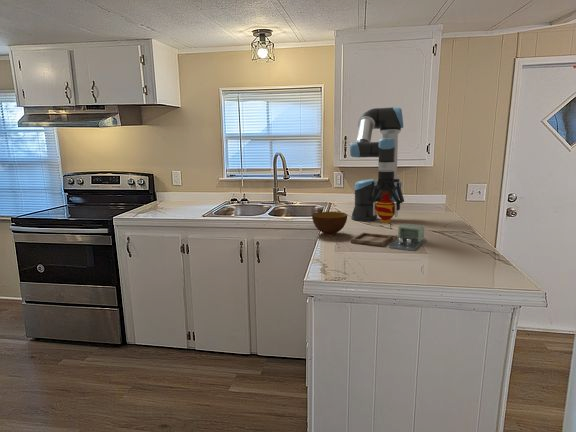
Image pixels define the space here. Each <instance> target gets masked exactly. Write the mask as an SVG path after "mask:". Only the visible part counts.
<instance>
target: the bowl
mask: <svg viewBox="0 0 576 432" xmlns="http://www.w3.org/2000/svg"><path fill="white" fill-rule="evenodd" d="M311 218H312V222H313V224H314V226H315V228H316V229H317V230H318V231H319V232H321V233H323V235H324V234H325V235H324V236H327V235H332V236H336V235H337V233H338V232H339V233H340V232H341V231H342V229H343V228H344V227H345V226H346V223H347V220H348V214H347V213H345V212H340V211H339V212H338V211H323V212H322V211H320V212H314V213H313V214H311ZM335 234H336V235H335Z"/></svg>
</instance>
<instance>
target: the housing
mask: <svg viewBox="0 0 576 432" xmlns="http://www.w3.org/2000/svg"><path fill="white" fill-rule="evenodd" d="M397 230H398V232H397V239H398V240H399V238H403V237H409V238H418V242H420V241H422V240H423V239H424V238H425V225H423V224H414V223H413V224H412V223H402V224H400V225H399V226H398V229H397Z"/></svg>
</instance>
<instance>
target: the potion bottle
mask: <svg viewBox="0 0 576 432" xmlns="http://www.w3.org/2000/svg"><path fill="white" fill-rule="evenodd" d="M381 195H382V196H383V199H381V200H380V201H378V202H377V203H376V204H375V205H376V207H375V212H376V213H377V217H379V218H380V221H379V222H381V223H384V224H386V223H392V222H391V219H393V217H395V204H396V202H394V201H393V200H391V199H389V196H391V194H390V191H382V194H381Z"/></svg>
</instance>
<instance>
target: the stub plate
mask: <svg viewBox="0 0 576 432" xmlns="http://www.w3.org/2000/svg"><path fill="white" fill-rule="evenodd" d="M426 240H427V238H426V237H424V239H423V240H422V241H420V242H418V238H409V237H403V238H399V240H398V238H397V239H396V240H395V241H394V242H392V243H391V244H389V245H388V248H389V249H396V250H405V251H413V252H414V251H416V250H417V249H418V248H419V247H420V246H421V245H423V244H424V243H425V242H426Z"/></svg>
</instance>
